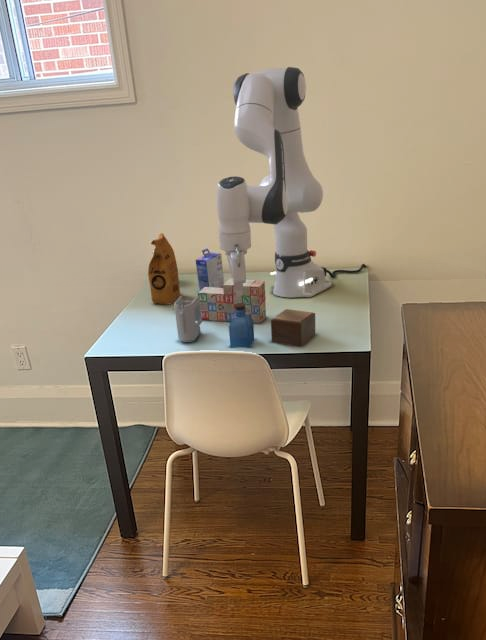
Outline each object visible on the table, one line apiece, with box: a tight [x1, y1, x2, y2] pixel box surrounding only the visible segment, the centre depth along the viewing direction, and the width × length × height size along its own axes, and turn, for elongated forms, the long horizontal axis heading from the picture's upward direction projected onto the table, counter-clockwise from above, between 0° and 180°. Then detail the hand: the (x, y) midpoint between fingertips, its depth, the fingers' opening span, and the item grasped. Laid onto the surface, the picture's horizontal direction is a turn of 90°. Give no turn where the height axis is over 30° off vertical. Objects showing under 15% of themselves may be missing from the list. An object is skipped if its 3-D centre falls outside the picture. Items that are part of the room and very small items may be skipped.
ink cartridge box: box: [195, 248, 225, 291], centre depth 246 cm, size 10×6×14 cm, turn 147°
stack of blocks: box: [197, 278, 267, 325], centre depth 218 cm, size 21×6×12 cm, turn 71°
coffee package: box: [147, 232, 181, 305], centre depth 237 cm, size 10×12×22 cm
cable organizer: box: [173, 295, 203, 343], centre depth 207 cm, size 7×12×12 cm, turn 168°
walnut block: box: [270, 308, 316, 347], centre depth 202 cm, size 10×10×7 cm
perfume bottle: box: [228, 303, 255, 348], centre depth 200 cm, size 6×6×12 cm
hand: (238, 290), depth 194 cm, fingers open, 8 cm apart
